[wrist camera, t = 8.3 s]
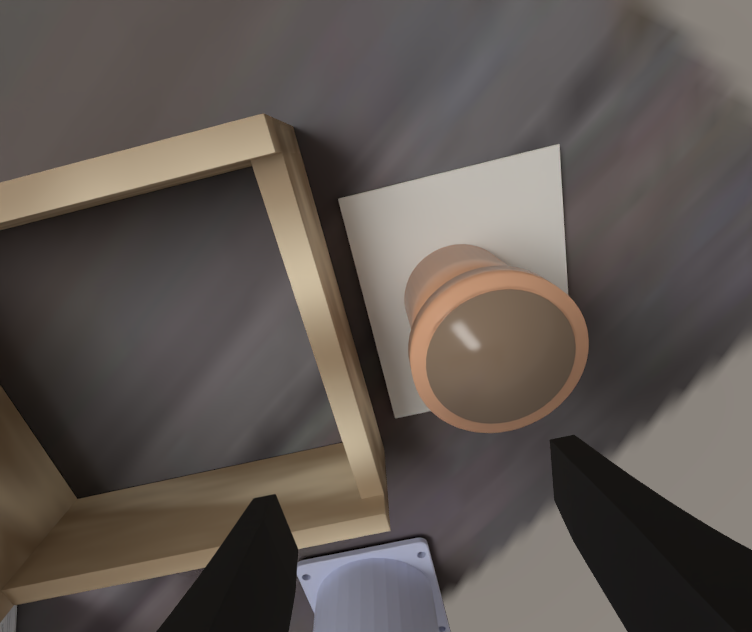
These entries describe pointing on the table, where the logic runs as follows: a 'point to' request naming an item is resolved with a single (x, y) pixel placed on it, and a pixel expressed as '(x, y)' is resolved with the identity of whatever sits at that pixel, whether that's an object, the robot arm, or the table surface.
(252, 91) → the table surface
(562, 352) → the terracotta flower pot
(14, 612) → the syrup box
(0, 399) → the cold frame
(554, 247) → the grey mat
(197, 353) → the table surface
